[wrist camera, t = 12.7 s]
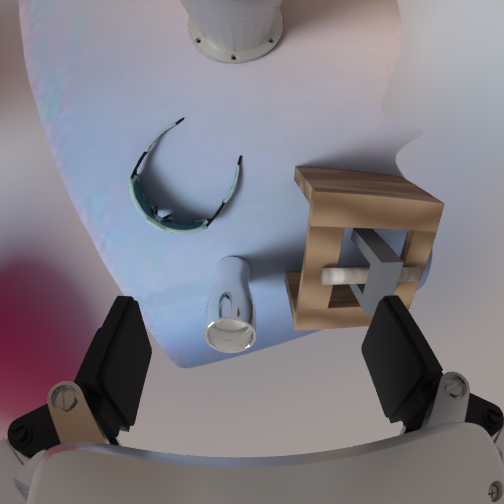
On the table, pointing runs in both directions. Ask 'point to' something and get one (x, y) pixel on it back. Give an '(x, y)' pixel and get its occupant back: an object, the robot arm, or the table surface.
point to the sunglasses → (149, 210)
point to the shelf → (331, 234)
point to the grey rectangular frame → (375, 269)
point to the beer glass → (231, 308)
